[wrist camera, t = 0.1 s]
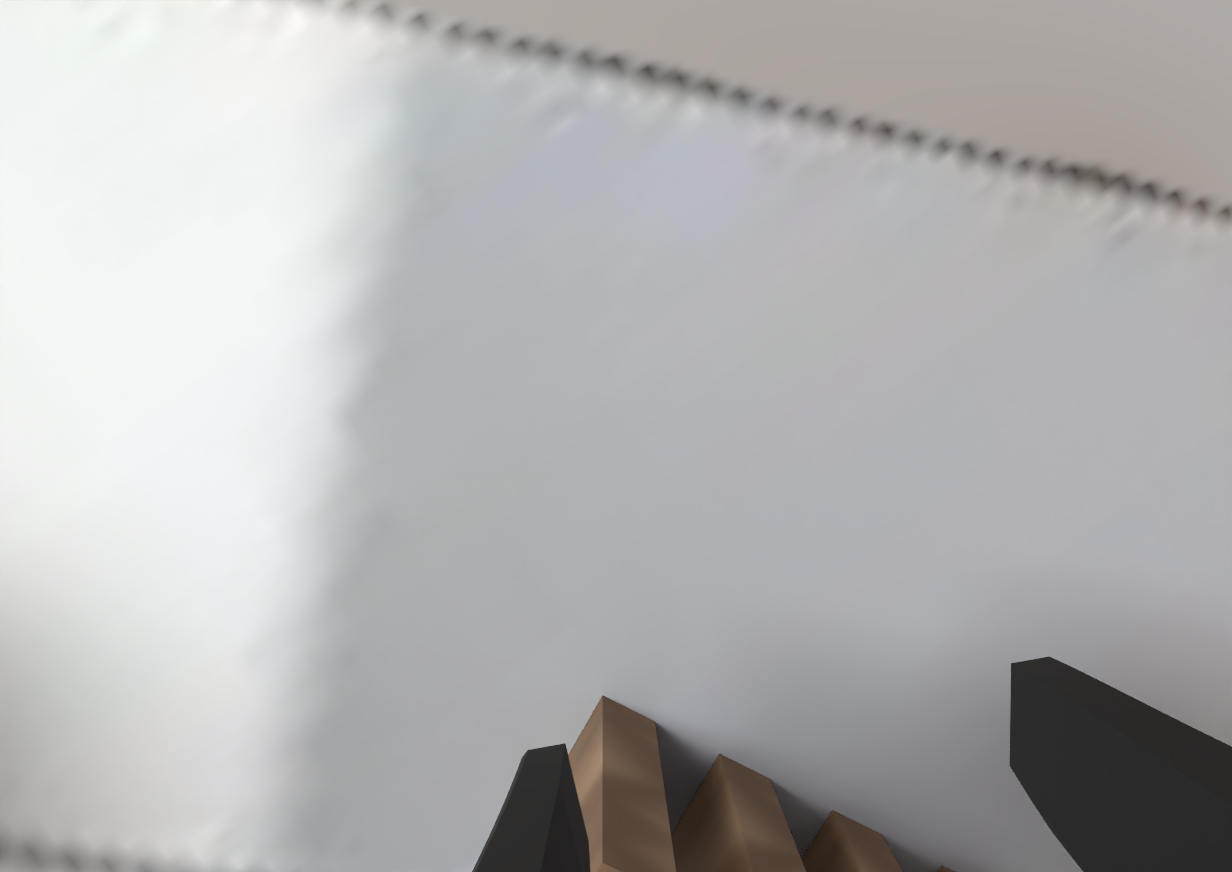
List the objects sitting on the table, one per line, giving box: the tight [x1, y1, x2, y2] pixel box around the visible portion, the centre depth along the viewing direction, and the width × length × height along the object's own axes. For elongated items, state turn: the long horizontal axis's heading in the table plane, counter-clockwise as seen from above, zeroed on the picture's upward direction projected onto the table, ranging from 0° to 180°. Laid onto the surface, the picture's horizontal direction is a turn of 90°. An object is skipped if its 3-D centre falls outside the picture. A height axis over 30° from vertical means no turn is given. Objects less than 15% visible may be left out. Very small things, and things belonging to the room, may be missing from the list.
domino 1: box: [568, 696, 676, 872], centre depth 18 cm, size 2×5×7 cm, turn 151°
